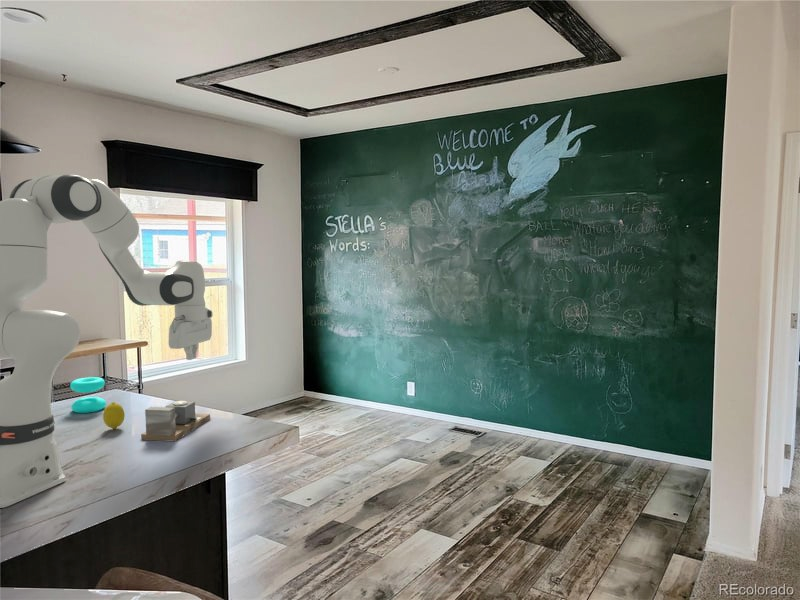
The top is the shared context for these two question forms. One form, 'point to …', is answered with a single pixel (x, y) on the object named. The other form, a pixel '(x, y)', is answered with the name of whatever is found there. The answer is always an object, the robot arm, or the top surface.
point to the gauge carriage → (183, 411)
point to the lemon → (113, 415)
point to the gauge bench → (179, 429)
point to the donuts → (89, 402)
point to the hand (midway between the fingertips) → (191, 359)
